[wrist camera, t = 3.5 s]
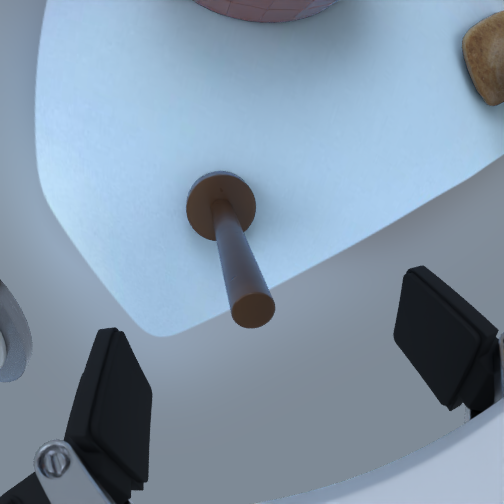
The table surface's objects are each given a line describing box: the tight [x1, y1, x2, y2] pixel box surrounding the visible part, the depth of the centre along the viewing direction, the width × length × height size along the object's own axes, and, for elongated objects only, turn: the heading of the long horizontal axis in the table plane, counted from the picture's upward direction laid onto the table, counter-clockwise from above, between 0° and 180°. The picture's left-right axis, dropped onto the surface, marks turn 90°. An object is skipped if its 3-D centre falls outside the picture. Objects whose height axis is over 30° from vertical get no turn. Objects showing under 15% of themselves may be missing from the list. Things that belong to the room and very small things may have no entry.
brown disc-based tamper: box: [186, 171, 275, 328], centre depth 17 cm, size 5×5×15 cm
